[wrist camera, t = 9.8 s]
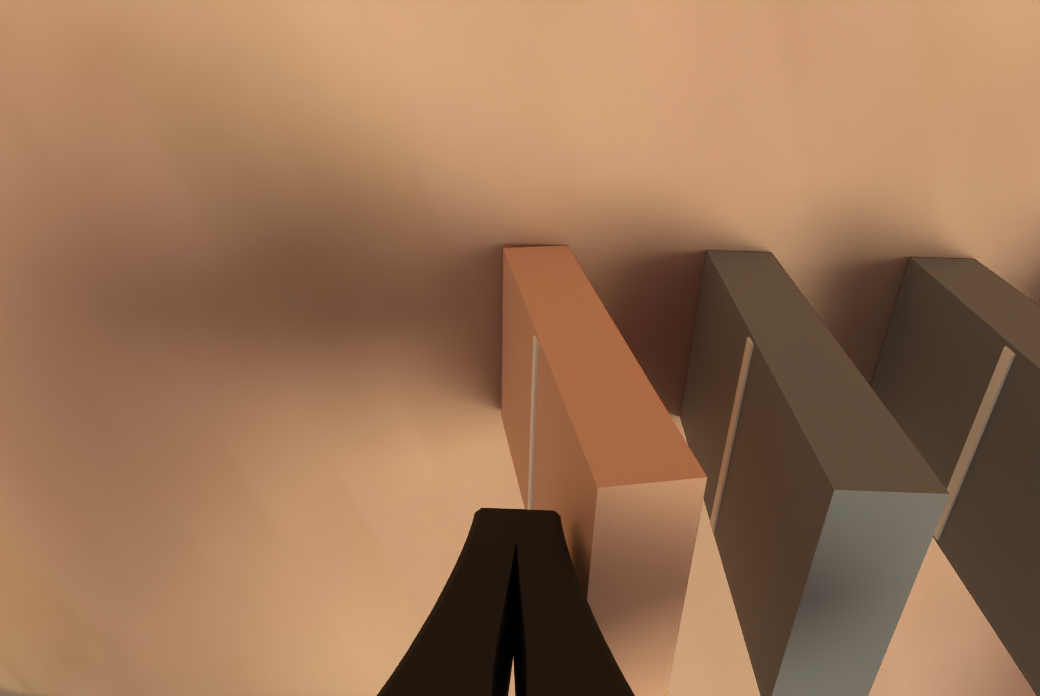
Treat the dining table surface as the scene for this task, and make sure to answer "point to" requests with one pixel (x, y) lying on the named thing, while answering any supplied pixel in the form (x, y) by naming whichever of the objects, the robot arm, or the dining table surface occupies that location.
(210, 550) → the dining table surface
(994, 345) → the domino
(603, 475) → the terracotta domino
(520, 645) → the robot arm
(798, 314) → the domino
